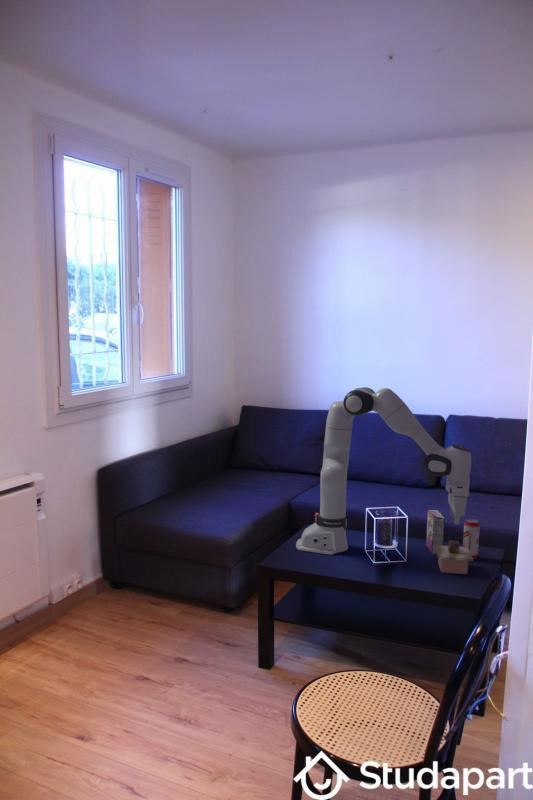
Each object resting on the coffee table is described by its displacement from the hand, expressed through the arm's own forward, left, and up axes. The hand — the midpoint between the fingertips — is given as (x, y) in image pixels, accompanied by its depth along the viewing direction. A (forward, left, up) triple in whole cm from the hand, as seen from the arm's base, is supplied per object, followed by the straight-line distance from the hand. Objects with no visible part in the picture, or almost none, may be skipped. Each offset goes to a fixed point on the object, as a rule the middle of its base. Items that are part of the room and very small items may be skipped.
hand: (454, 520), depth 250 cm
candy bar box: (-5, +20, -20) cm, 29 cm away
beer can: (+9, +14, -20) cm, 26 cm away
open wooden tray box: (0, 0, -20) cm, 20 cm away
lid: (0, 0, -14) cm, 14 cm away
